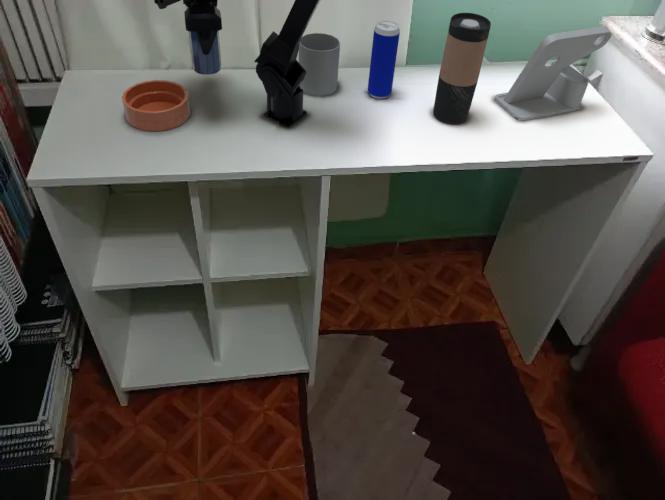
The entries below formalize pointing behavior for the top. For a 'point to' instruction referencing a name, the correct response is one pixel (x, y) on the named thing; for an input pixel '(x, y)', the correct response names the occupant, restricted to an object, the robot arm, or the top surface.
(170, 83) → the bowl
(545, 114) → the phone holder
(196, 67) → the tumbler
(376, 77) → the beverage can
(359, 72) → the top surface
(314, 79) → the cup
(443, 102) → the travel mug
